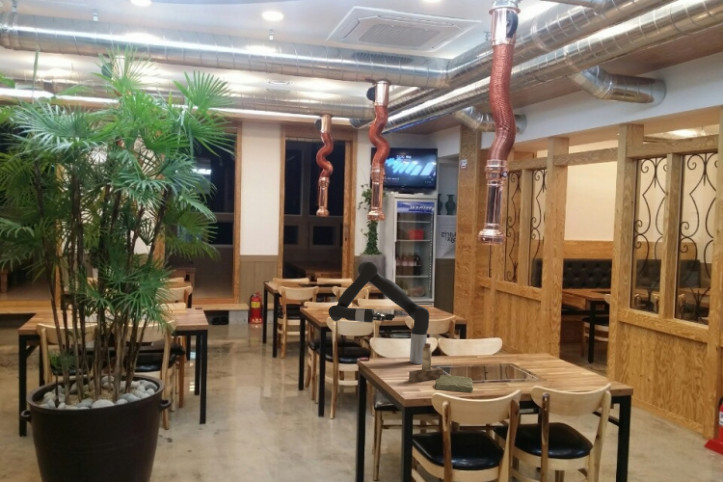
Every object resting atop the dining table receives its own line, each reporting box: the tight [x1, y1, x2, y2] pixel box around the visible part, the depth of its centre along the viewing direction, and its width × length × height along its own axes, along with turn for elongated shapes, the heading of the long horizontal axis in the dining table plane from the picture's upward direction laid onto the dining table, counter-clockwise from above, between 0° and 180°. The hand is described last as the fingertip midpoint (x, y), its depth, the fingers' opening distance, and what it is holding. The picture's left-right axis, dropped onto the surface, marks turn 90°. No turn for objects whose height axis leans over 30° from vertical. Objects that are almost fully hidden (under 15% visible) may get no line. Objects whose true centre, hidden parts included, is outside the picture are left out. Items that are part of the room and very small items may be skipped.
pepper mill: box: [421, 342, 433, 371], centre depth 334 cm, size 5×5×14 cm
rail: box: [408, 367, 444, 383], centre depth 334 cm, size 20×4×5 cm, turn 125°
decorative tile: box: [435, 374, 474, 393], centre depth 324 cm, size 19×20×4 cm
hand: (393, 317), depth 347 cm, fingers open, 8 cm apart
